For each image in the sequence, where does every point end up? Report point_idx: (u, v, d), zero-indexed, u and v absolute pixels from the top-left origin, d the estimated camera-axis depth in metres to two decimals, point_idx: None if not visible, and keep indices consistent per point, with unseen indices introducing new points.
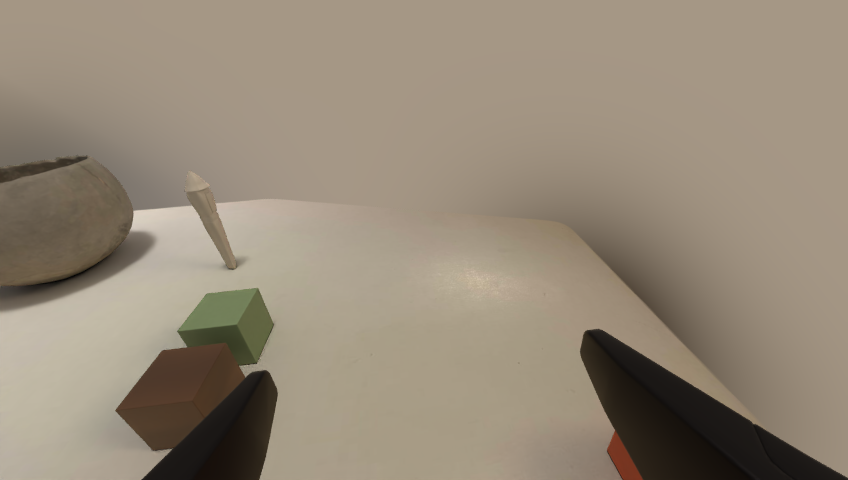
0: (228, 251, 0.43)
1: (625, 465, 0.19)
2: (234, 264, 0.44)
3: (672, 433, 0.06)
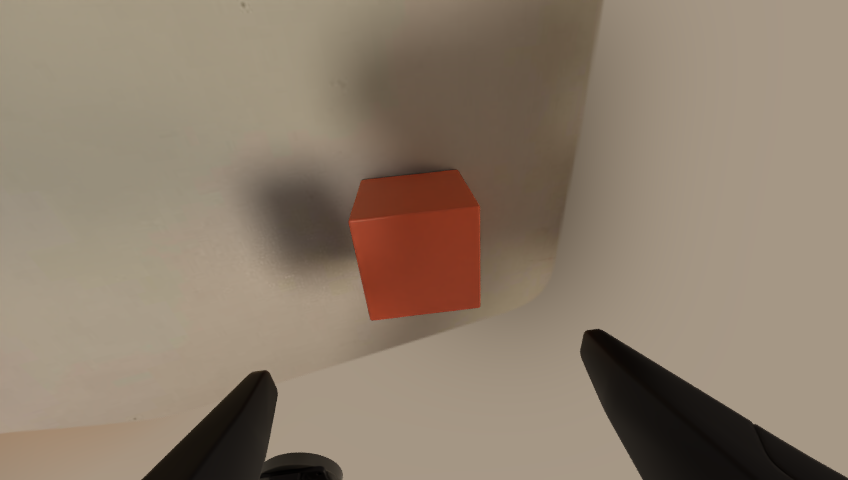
0: None
1: None
2: None
3: (673, 433, 0.06)
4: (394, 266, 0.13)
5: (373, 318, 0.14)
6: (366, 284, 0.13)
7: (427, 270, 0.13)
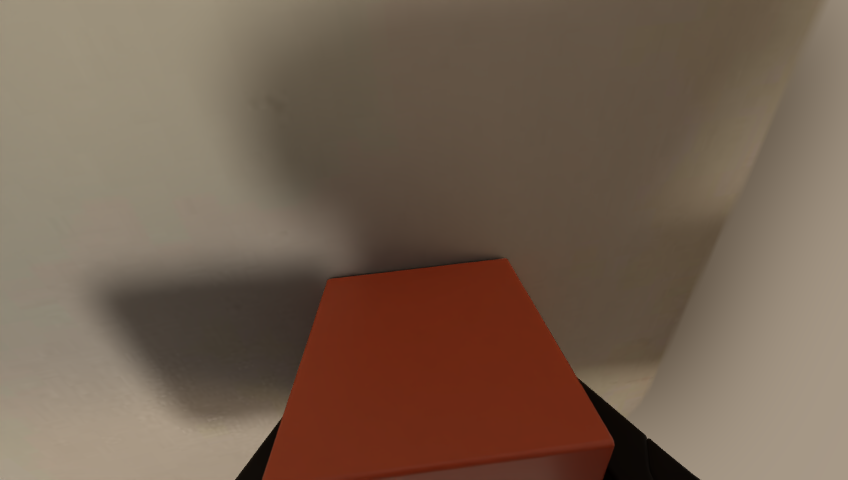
0: None
1: None
2: None
3: None
4: None
5: None
6: None
7: None
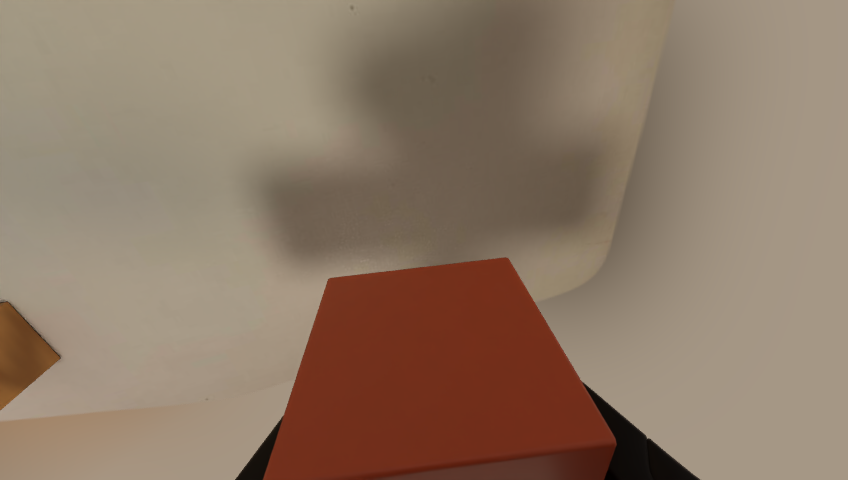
0: None
1: None
2: None
3: None
4: None
5: None
6: None
7: None
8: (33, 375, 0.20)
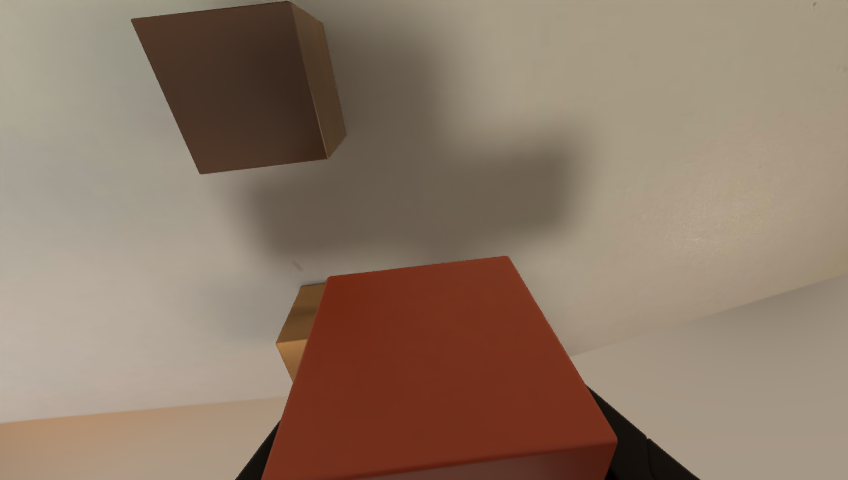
0: None
1: None
2: None
3: None
4: None
5: None
6: None
7: None
8: None
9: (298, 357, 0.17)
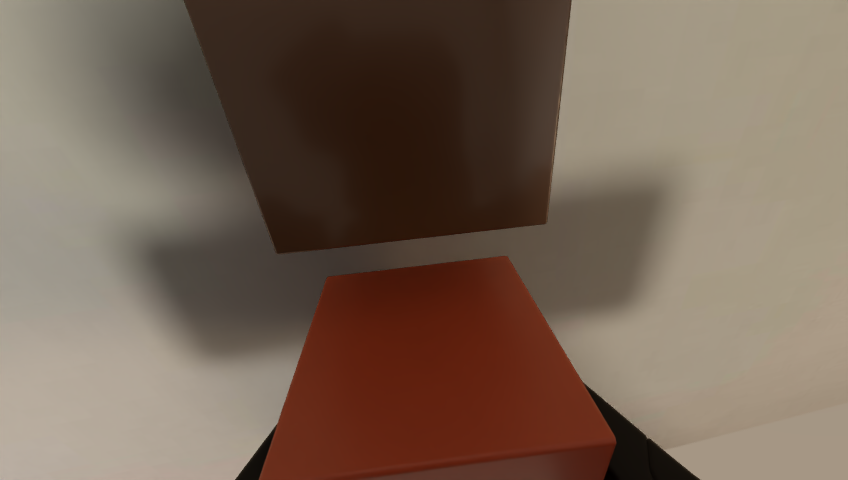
0: None
1: None
2: None
3: None
4: None
5: None
6: None
7: None
8: None
9: None
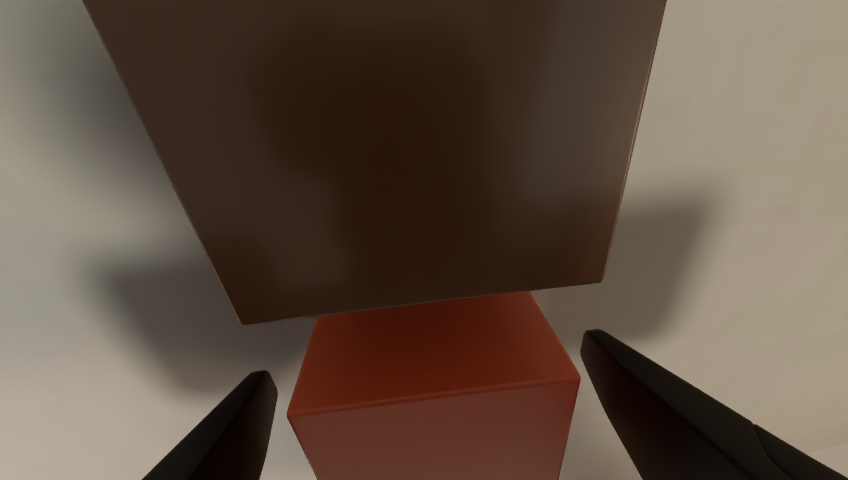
0: None
1: None
2: None
3: (673, 433, 0.06)
4: (391, 474, 0.06)
5: None
6: None
7: (457, 476, 0.06)
8: None
9: None
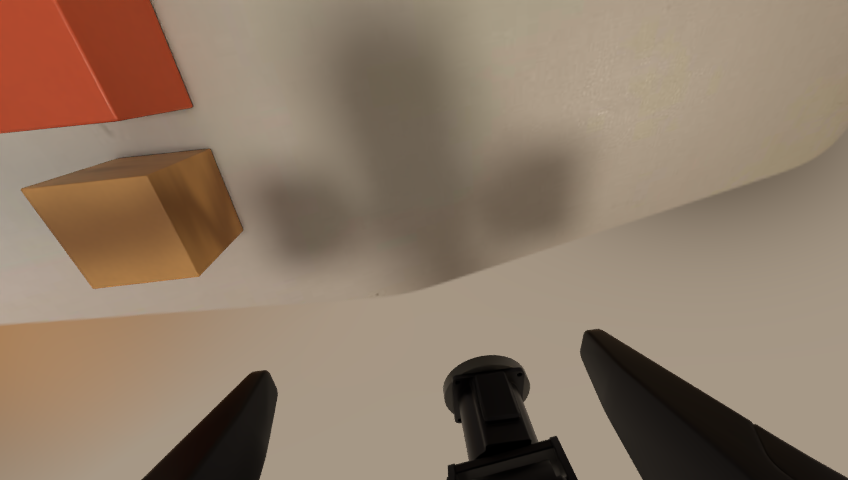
0: None
1: None
2: None
3: (673, 433, 0.06)
4: None
5: None
6: None
7: (11, 53, 0.11)
8: (229, 238, 0.18)
9: (60, 213, 0.13)
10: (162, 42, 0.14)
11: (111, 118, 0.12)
